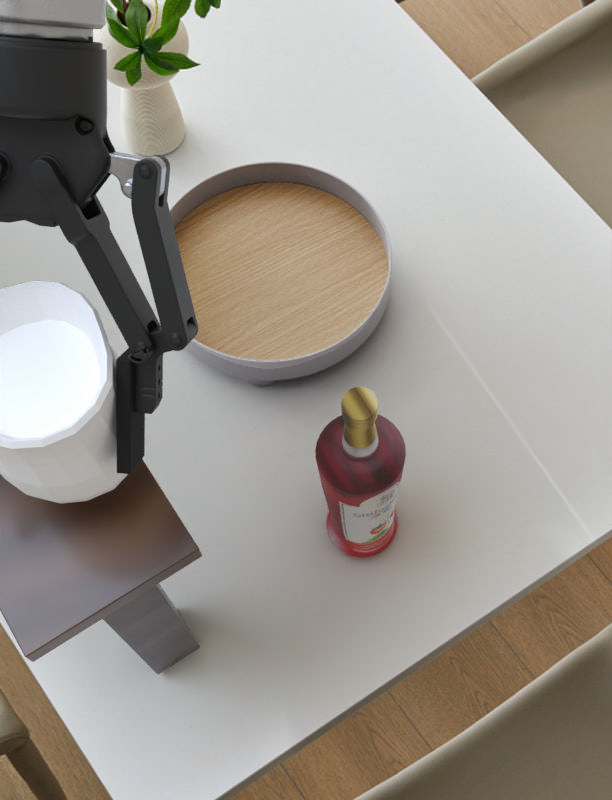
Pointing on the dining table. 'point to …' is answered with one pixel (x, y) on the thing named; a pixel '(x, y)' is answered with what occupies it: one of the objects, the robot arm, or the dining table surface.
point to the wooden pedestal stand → (95, 568)
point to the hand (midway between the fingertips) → (39, 454)
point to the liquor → (361, 475)
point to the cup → (56, 394)
